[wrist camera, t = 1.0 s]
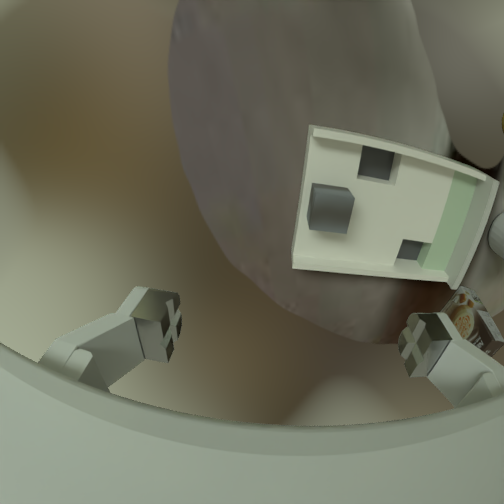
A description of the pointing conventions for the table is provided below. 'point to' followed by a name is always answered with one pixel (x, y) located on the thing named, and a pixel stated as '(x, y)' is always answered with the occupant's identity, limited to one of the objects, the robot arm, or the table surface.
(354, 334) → the table surface
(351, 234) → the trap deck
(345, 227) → the block
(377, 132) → the table surface
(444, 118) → the table surface
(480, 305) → the coffee box
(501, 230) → the mug
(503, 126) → the plant pot
